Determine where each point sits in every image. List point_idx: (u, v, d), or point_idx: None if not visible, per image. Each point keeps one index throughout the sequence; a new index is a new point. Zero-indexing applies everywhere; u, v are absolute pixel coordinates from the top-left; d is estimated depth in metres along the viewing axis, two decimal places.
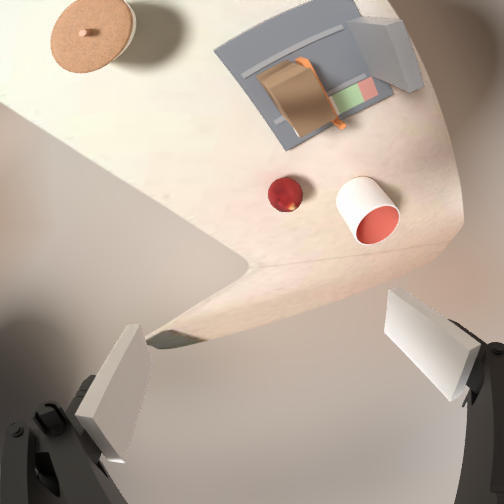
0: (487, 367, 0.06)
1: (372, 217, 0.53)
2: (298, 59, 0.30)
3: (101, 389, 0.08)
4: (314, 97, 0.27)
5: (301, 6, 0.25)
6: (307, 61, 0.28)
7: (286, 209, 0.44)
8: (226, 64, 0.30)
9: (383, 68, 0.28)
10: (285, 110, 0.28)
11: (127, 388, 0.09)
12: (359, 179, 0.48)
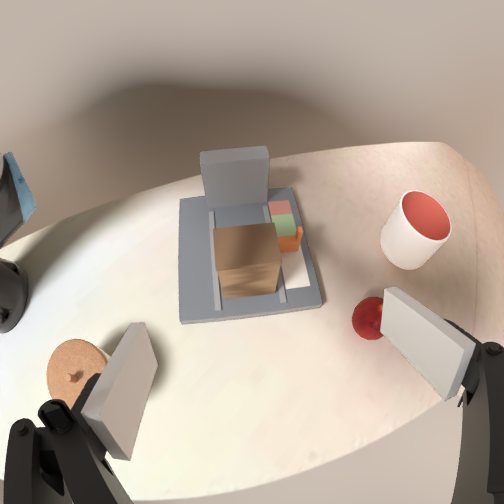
0: (482, 367, 0.06)
1: (427, 229, 0.42)
2: None
3: (107, 387, 0.08)
4: (243, 234, 0.31)
5: (179, 236, 0.43)
6: None
7: None
8: (198, 318, 0.37)
9: (251, 182, 0.42)
10: (243, 264, 0.30)
11: (132, 386, 0.09)
12: (381, 237, 0.43)
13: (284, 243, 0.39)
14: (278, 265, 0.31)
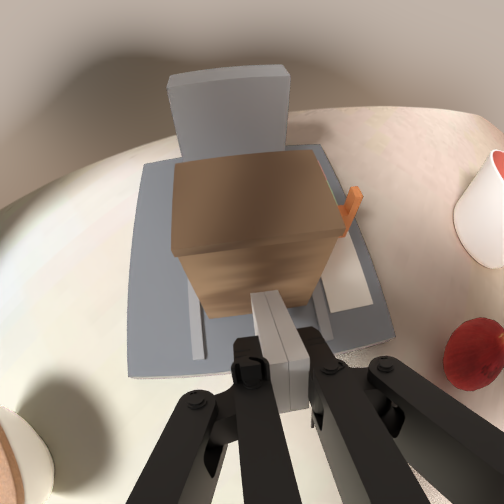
0: (321, 393, 0.07)
1: None
2: None
3: (276, 340, 0.10)
4: (243, 171, 0.13)
5: (136, 220, 0.24)
6: None
7: None
8: (162, 373, 0.17)
9: (258, 123, 0.23)
10: (246, 236, 0.11)
11: None
12: (458, 220, 0.24)
13: None
14: (332, 241, 0.12)
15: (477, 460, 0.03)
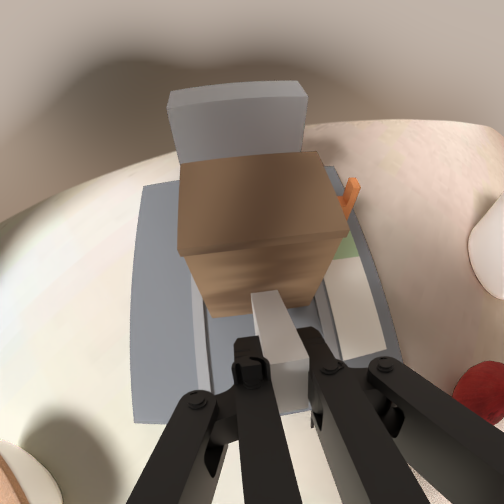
0: (321, 393, 0.07)
1: None
2: None
3: (276, 340, 0.10)
4: (248, 172, 0.13)
5: (136, 253, 0.22)
6: None
7: None
8: None
9: (270, 148, 0.21)
10: (252, 237, 0.11)
11: None
12: (473, 250, 0.22)
13: None
14: (336, 243, 0.12)
15: (477, 460, 0.03)
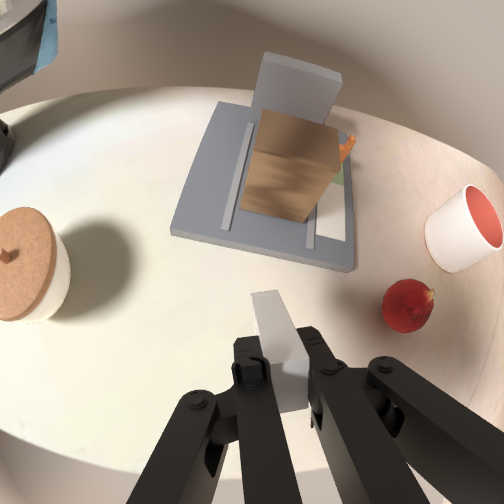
0: (321, 394, 0.07)
1: None
2: None
3: (276, 340, 0.10)
4: (298, 126, 0.22)
5: (205, 135, 0.33)
6: None
7: (428, 306, 0.23)
8: (196, 231, 0.27)
9: (310, 105, 0.31)
10: (292, 153, 0.20)
11: None
12: (427, 223, 0.34)
13: None
14: (332, 175, 0.22)
15: (477, 460, 0.03)
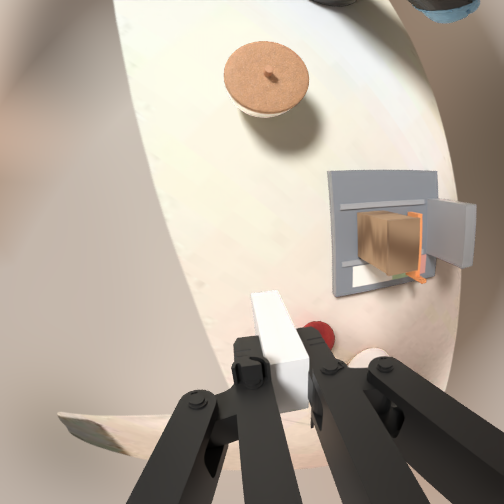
0: (321, 393, 0.07)
1: None
2: (412, 212, 0.39)
3: (276, 340, 0.10)
4: (412, 244, 0.32)
5: (405, 171, 0.39)
6: (421, 215, 0.37)
7: None
8: (333, 189, 0.39)
9: (444, 245, 0.38)
10: (390, 244, 0.31)
11: None
12: (378, 349, 0.47)
13: None
14: (384, 271, 0.33)
15: (476, 460, 0.03)
